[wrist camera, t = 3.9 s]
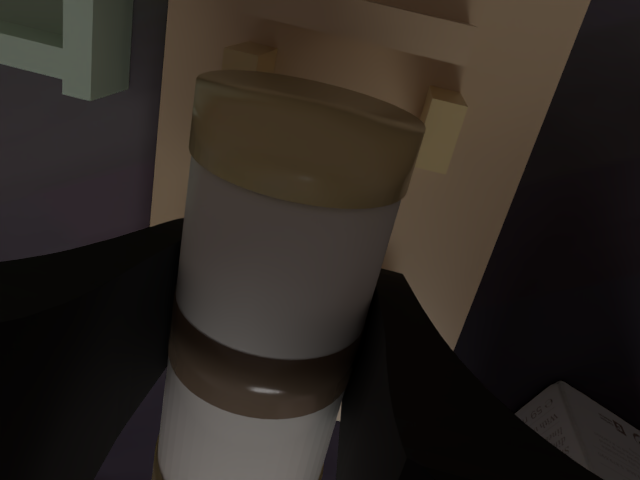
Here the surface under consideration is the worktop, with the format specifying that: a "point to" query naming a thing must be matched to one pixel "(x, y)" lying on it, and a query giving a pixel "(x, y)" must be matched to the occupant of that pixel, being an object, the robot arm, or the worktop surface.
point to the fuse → (276, 270)
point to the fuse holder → (402, 91)
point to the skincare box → (585, 431)
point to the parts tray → (70, 42)
